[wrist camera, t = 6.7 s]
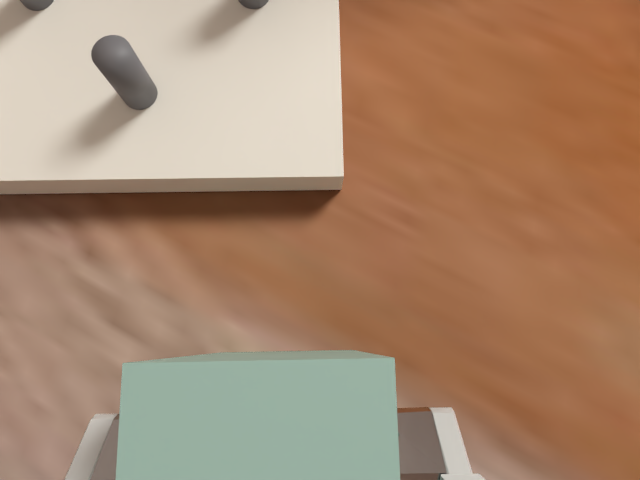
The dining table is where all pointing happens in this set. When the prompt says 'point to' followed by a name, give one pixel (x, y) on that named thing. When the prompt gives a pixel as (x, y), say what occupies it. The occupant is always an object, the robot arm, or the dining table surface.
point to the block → (259, 417)
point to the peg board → (169, 96)
